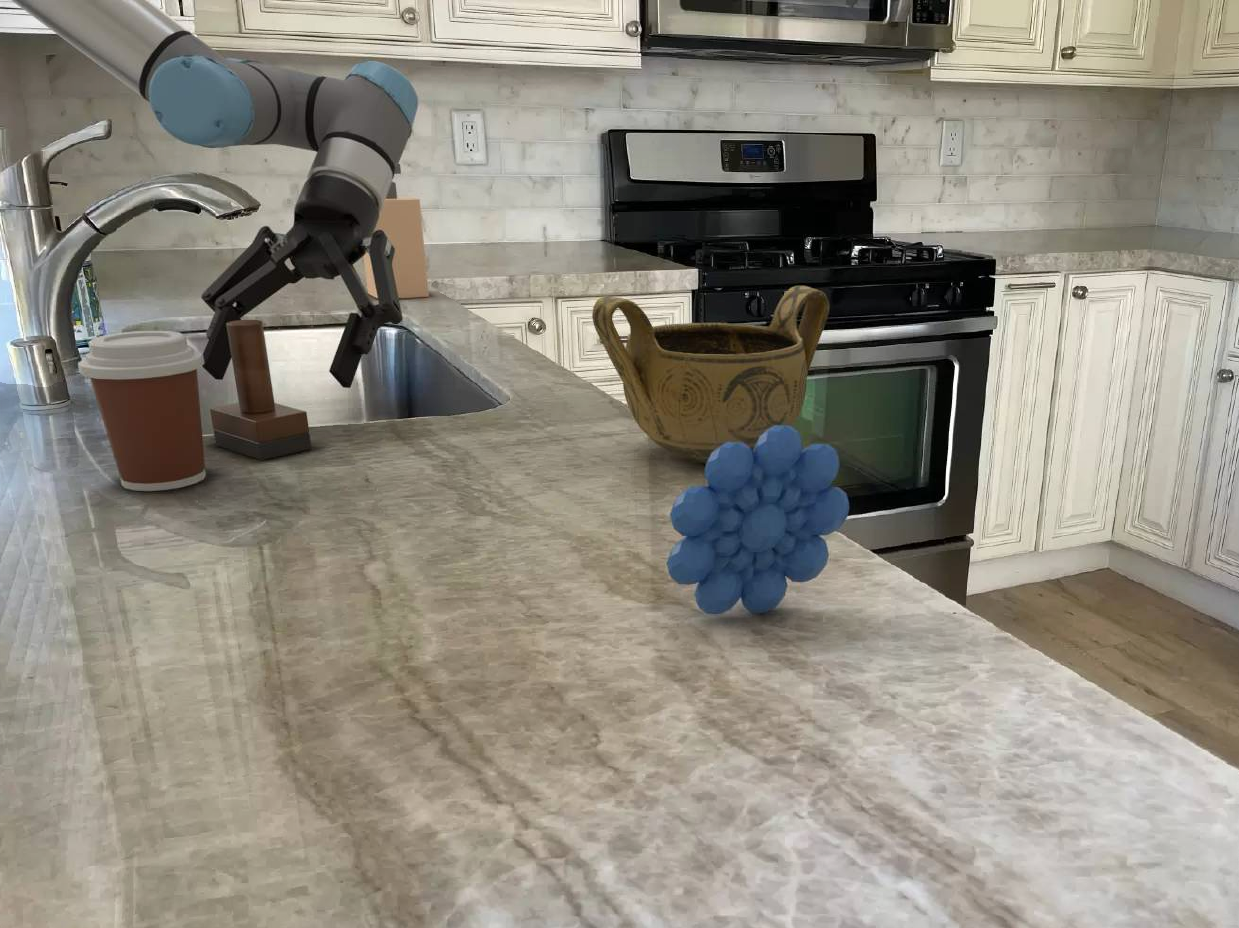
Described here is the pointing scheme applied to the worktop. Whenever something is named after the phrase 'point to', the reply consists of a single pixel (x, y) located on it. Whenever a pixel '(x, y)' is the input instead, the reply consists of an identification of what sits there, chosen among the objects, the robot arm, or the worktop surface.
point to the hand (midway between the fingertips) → (274, 376)
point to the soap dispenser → (402, 244)
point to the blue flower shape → (757, 521)
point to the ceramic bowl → (714, 372)
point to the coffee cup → (149, 406)
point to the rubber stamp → (256, 403)
